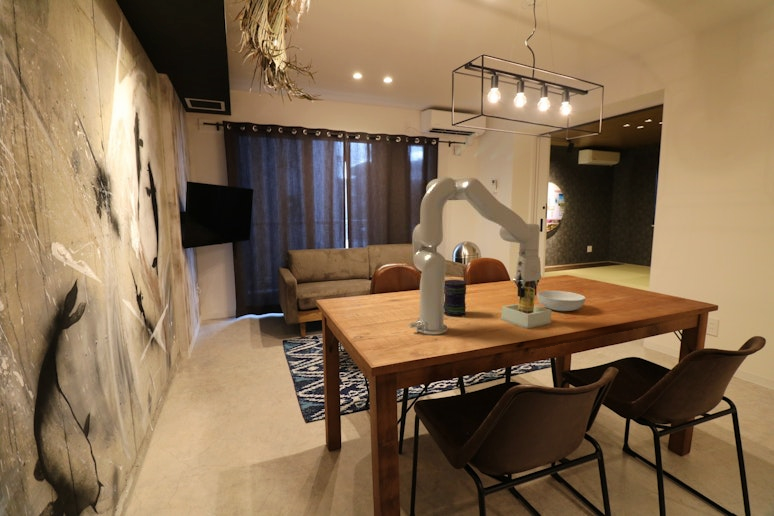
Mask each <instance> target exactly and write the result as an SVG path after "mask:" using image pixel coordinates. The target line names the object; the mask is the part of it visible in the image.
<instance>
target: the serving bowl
mask: <svg viewBox="0 0 774 516" xmlns="http://www.w3.org/2000/svg"><path fill="white" fill-rule="evenodd" d="M536 296H537V297H536V298H537V300H538V303H540V305H542V307H544V308H546V309H550V310H552V311H555V310H556V312H570V311H575V310H579V309H580V308H582V307H583V305H584V304H585V301H586V296H584V295H582V294H579V293H575V292H571V291H563V290H541V291H538V292H536Z"/></svg>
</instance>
